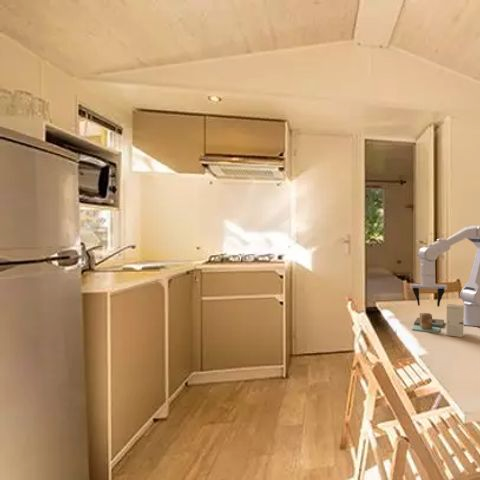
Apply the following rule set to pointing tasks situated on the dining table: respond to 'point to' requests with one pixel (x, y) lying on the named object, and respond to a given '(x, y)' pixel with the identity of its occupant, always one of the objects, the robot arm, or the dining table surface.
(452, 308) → the skincare box
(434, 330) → the mat
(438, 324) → the socket plate
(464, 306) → the robot arm
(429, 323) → the brown block
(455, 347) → the dining table surface
